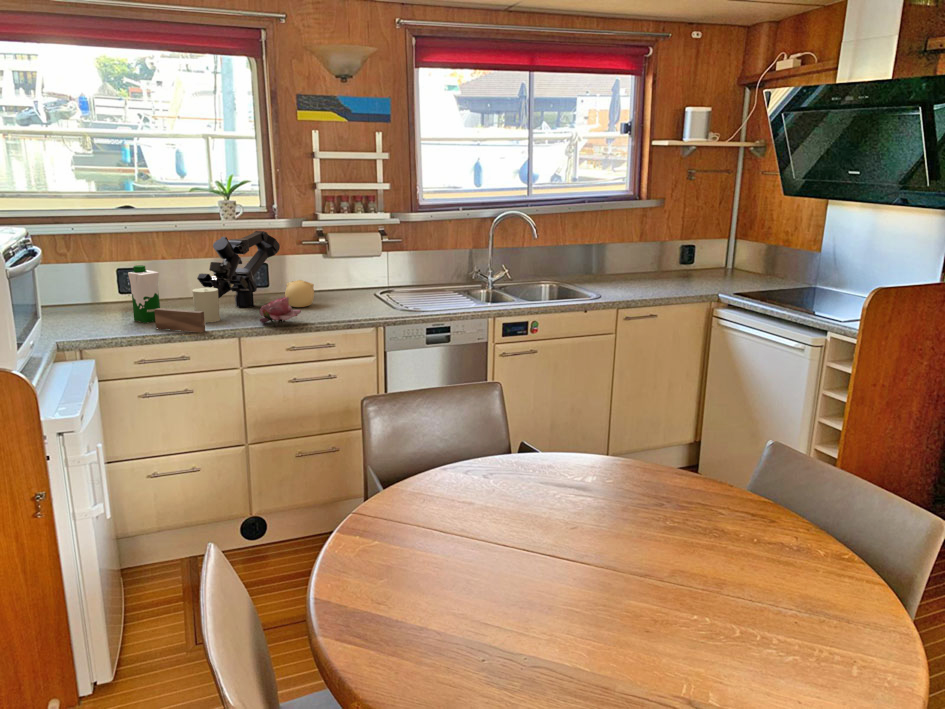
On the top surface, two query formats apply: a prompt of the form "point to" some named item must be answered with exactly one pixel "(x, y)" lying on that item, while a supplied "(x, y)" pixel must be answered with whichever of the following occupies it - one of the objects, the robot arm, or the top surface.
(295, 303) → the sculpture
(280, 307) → the flower
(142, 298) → the milk carton
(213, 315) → the can
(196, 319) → the brown box
